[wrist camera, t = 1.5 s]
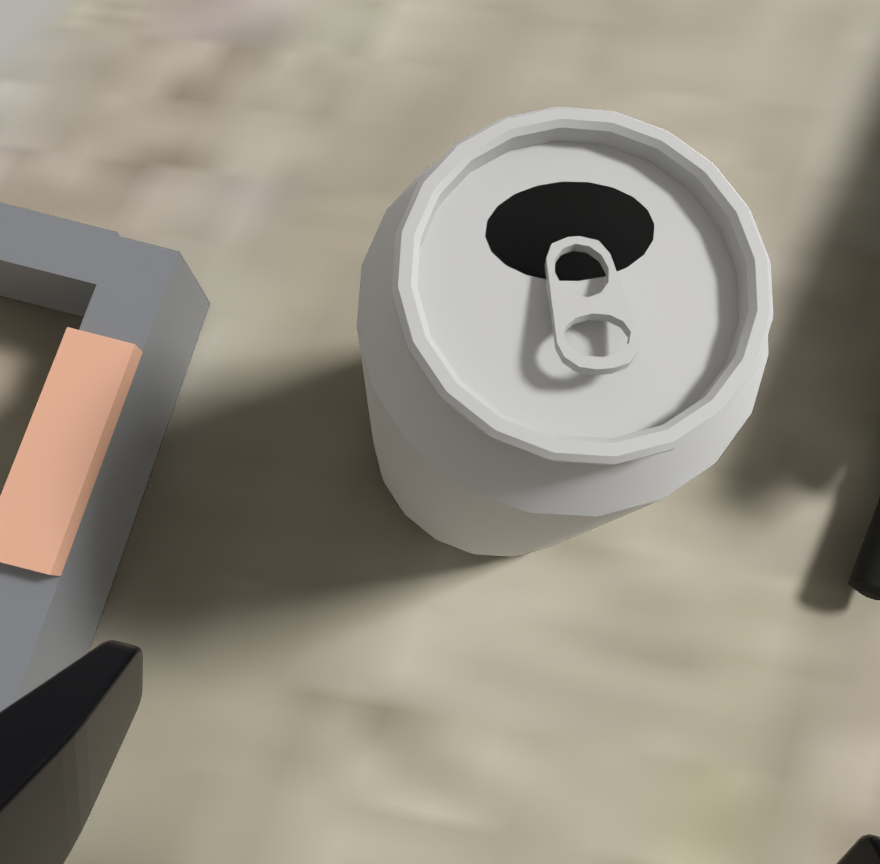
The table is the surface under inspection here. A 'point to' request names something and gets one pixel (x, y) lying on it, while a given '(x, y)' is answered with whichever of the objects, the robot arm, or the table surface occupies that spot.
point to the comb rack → (84, 429)
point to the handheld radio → (869, 561)
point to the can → (559, 328)
